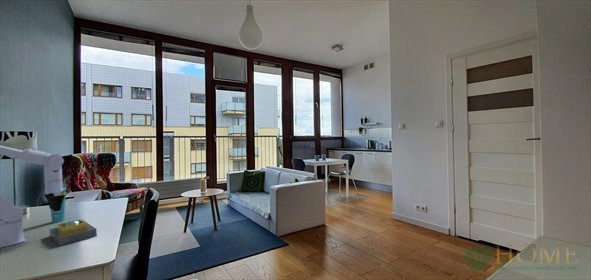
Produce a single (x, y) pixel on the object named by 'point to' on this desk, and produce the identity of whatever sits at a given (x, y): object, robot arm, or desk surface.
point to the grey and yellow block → (72, 232)
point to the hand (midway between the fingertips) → (55, 209)
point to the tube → (60, 215)
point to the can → (71, 223)
